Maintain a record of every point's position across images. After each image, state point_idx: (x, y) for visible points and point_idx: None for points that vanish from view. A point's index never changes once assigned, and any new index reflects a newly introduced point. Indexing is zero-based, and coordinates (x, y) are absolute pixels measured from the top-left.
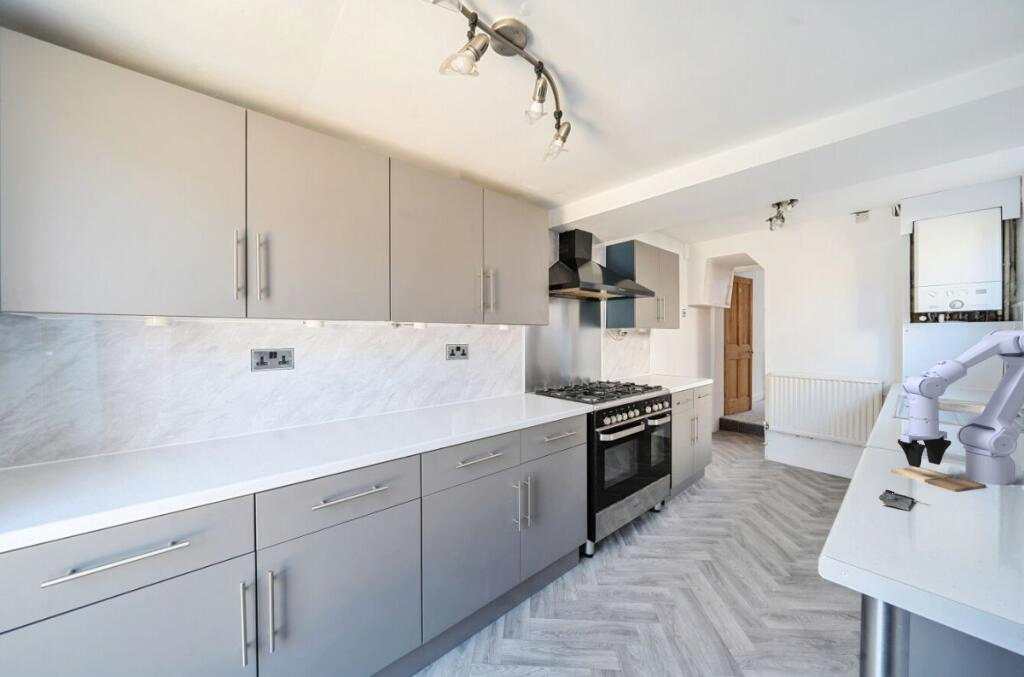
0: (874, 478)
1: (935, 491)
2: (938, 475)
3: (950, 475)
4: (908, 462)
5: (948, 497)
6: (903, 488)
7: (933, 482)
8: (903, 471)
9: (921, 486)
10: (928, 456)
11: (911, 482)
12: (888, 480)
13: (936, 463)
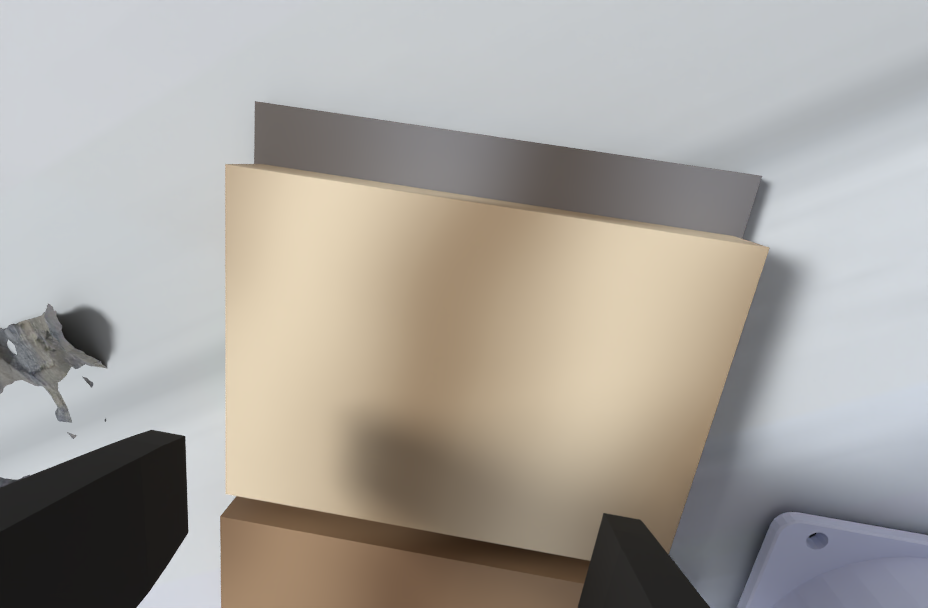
0: (15, 127)
1: None
2: (519, 511)
3: None
4: (102, 452)
5: (184, 600)
6: (36, 390)
7: (228, 553)
8: (303, 276)
9: None
10: (640, 596)
11: None
12: (105, 226)
13: (583, 605)
